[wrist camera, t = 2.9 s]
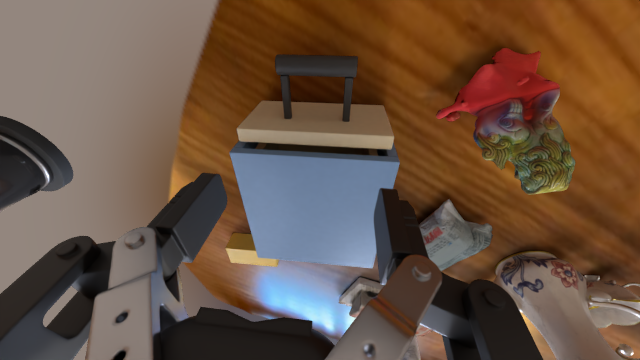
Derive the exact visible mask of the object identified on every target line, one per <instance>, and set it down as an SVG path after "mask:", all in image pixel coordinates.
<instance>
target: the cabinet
mask: <svg viewBox="0 0 640 360" xmlns="http://www.w3.org/2000/svg"><path fill="white" fill-rule="evenodd" d="M258 144H259V142H241V141H238V143H237V144H236V145H235V146H234V148H233V149H232V150H231V151H230V156H231V160H232V164H233V167H234V171H235V175H236V178H237V182H238V186H239V189H240V193H241V197H242V200H243V204H244V208H245V212H246V215H247V219H248V223H249V226H250V230H251V234H252V237H253V241H254V245H255V248H256V252H257V256H258V258H268V259H279V260H289V261H300V262H311V263H321V264H332V265H343V266H353V267H364V268H373V264H374V260H375V256H376V253H377V249H376V240H375V230H374V210H375V206H376V202H377V197H378V193H379V189H380V188H388V189H393V186H394V183H395V179H396V175H397V171H398V167H399V163H400V162H399V159H398V155H397V152H396V149H395V146H394V143H393V145H392V149H391V150H389V149H377V153H378V156H371V155H354V154H336V153H318V152H300V151H283V150H265V149H255V148H256V147H257V145H258Z"/></svg>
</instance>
